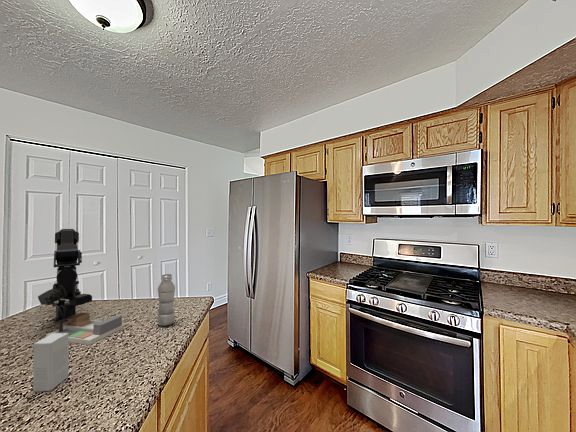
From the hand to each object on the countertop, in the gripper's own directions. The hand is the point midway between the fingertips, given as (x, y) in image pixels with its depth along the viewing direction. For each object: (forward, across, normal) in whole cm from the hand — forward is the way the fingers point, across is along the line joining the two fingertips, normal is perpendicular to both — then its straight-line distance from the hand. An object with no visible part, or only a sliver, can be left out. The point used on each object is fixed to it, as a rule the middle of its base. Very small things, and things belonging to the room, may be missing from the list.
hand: (65, 320), depth 101 cm
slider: (+1, +6, -2) cm, 7 cm away
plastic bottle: (+3, +35, +12) cm, 37 cm away
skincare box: (+3, +32, -28) cm, 42 cm away
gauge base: (+3, +12, -2) cm, 12 cm away
